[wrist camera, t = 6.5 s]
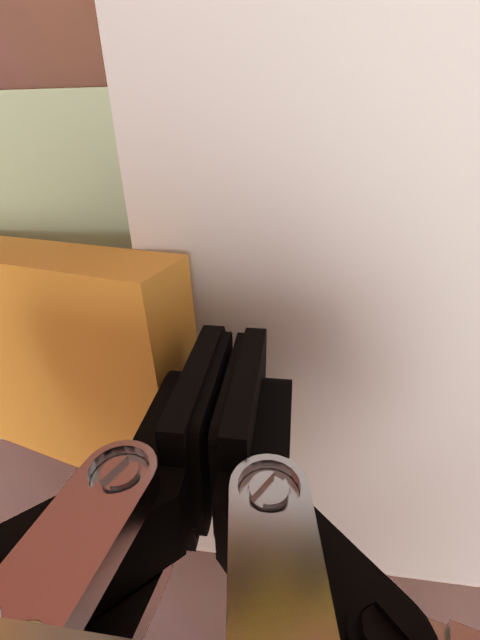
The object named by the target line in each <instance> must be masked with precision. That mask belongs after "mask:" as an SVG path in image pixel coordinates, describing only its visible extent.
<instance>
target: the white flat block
mask: <svg viewBox="0 0 480 640" xmlns="http://www.w3.org/2000/svg"><path fill="white" fill-rule="evenodd" d="M95 6H96V13H97V19H98V26H99V33H100V39H101V46H102V52H103V59H104V66H105V72H106V79H107V85H108V92H109V98H110V105H111V112H112V118H113V125H114V131H115V138H116V144H117V151H118V158H119V164H120V171H121V177H122V184H123V191H124V197H125V204H126V210H127V217H128V223H129V230H130V237H131V243H132V249H137V250H147V251H156V252H166V253H176V254H186V255H188V257H189V267H190V276H191V286H192V295H193V305H194V314H195V324H196V333H197V338H198V335H199V333H200V331H201V329H202V327H203V325H213V326H224V327H225V332H232V337H233V346H234V342H235V339H236V336H237V333H238V332H241V333H244V332H245V329H246V327H247V328H264V329H267V344H266V378H278V379H292V405H291V432H290V460H291V461H293V462H294V463H296V464H297V465H299V467H300V468H301V469H302V470H303V472H304V473H305V474H306V477H307V479H308V482H309V485H310V490H311V495H312V500H313V505H314V506H315V507H316V508H317V509H318V510H319V511H320V512H321V513H322V514H323V515H324V516H325V517H326V518H327V519H328V520H329V521H330V522H331V523H332V524H333V525H334V526H335V527H336V528H337V529H338V530H340V531H341V532H342V533H343V534H344V535H345V536H346V537H347V538H348V539H349V540H350V541H351V542H352V543H353V544H354V545H355V546H356V547H357V548H358V549H359V550H360V551H361V552H362V553H363V554H365V555H366V556H367V557H368V558H369V559H370V560H371V561H372V562H373V563H374V564H375V565H376V566H377V567H378V568H379V569H380V570H381V571H382V572H383V573H384V574H385V575H389V576H397V577H405V578H412V579H420V580H428V581H435V582H443V583H451V584H458V585H466V586H473V587H480V0H95ZM196 550H198V551H206V552H213V553H216V548H215V538H214V533H213V518H212V520H211V524H210V529H209V533H208V536H207V537H206V536H199V540H198V544H197V548H196Z"/></svg>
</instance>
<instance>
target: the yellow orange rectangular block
mask: <svg viewBox="0 0 480 640" xmlns="http://www.w3.org/2000/svg"><path fill="white" fill-rule="evenodd" d="M196 340H197V333H196V324H195V314H194V305H193V295H192V286H191V276H190V267H189V257H188V255H186V254H176V253H166V252H156V251H147V250H137V249H127V248H117V247H108V246H98V245H88V244H78V243H69V242H59V241H49V240H39V239H29V238H20V237H10V236H0V438H2V439H5V440H8V441H10V442H13V443H15V444H18V445H21V446H23V447H26V448H28V449H31V450H34V451H36V452H39V453H41V454H44V455H47V456H49V457H52V458H54V459H57V460H60V461H62V462H65V463H68V464H70V465H73V466H75V467H78V468H79V467H80V466H81V465H82V464H83V463H84V461H85V460H86V459H87V458H88V457H89V456H90V455H91V454H92V453H93V452H94V451H96V450H98V449H99V448H101V447H103V446H104V445H107V444H110V443H113V442H115V441H122V440H133V438H134V436H135V434H136V432H137V430H138V428H139V426H140V424H141V422H142V420H143V418H144V416H145V415H146V413H147V411H148V409H149V407H150V405H151V403H152V401H153V399H154V397H155V395H156V393H157V391H158V389H159V388H160V386H161V384H162V382H163V380H164V378H165V376H166V374H167V373H168V372H169V371H171V370H172V371H182V370H183V368H184V366H185V363H186V361H187V359H188V357H189V355H190V353H191V350H192V348H193V346H194V344H195V342H196Z"/></svg>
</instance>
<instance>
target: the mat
mask: <svg viewBox="0 0 480 640" xmlns="http://www.w3.org/2000/svg"><path fill="white" fill-rule="evenodd" d="M0 236H10V237H20V238H29V239H39V240H49V241H59V242H69V243H78V244H88V245H98V246H108V247H117V248H127V249H132V243H131V237H130V230H129V223H128V217H127V210H126V204H125V197H124V191H123V184H122V177H121V171H120V164H119V158H118V151H117V144H116V138H115V131H114V125H113V118H112V112H111V105H110V98H109V92H108V87H85V88H53V89H21V90H0ZM0 439H2V438H0Z"/></svg>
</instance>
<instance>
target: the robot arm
mask: <svg viewBox="0 0 480 640" xmlns="http://www.w3.org/2000/svg"><path fill="white" fill-rule="evenodd" d="M266 344H267V329H264V328H247V327H246V329H245V332H244V333H241V332H238V333H237V336H236V339H235V342H234V346H233V337H232V332H225V327H224V326H213V325H203V327H202V329H201V331H200V333H199V335H198V338H197V340H196V342H195V344H194V346H193V348H192V350H191V353H190V355H189V357H188V359H187V361H186V363H185V366H184V368H183V370H182V371H172V370H171V371H169V372H168V373H167V374H166V376H165V378H164V380H163V382H162V384H161V386H160V388H159V389H158V391H157V393H156V395H155V397H154V399H153V401H152V403H151V405H150V407H149V409H148V411H147V413H146V415H145V416H144V418H143V420H142V422H141V424H140V426H139V428H138V430H137V432H136V434H135V436H134V438H133V440H122V441H115V442H113V443H110V444H107V445H104V446H103V447H101V448H99V449H98V450H96V451H94V452H93V453H92V454H91V455H90V456H89V457H88V458H87V459H86V460H85V461H84V463H83V464H82V465H81V466H80V467H79V469H78V470H77V471H76V472H75V474H74V475H73V476H72V477H71V478H70V480H69V481H68V482H67V483H66V485H65V486H64V487H63V488H62V489H61V491H60V492H59V493H58V494H57V495H56V496H54V497H52V498H50V499H48V500H46V501H44V502H42V503H40V504H38V505H36V506H34V507H32V508H30V509H29V510H27V511H25V512H23V513H21V514H19V515H17V516H15V517H13V518H11V519H9V520H7V521H5V522H3V523H1V524H0V640H143V639H144V636H145V634H146V632H147V629H148V627H149V625H150V622H151V620H152V618H153V615H154V613H155V611H156V609H157V606H158V604H159V602H160V599H161V597H162V595H163V592H164V590H165V588H166V585H167V583H168V581H169V578H170V575H171V572H172V568H173V563H174V562H176V561H177V560H179V559H180V558H181V557H183V556H184V555H186V551H187V550H189V551H196V548H197V544H198V540H199V536H206V537H207V536H208V533H209V529H210V524H211V520H212V518H213V533H214V538H215V548H216V559H217V561H218V562H219V563H220V565H221V566H222V568H223V569H224V571H225V572H226V574H227V615H226V640H480V631H478V630H476V629H473V628H471V627H468V626H465V625H463V624H460V623H457V622H455V621H452V620H449V622H448V624H447V625H445V624H443V623H440V622H437V621H435V620H432V619H430V618H427V617H426V615H425V614H424V613H423V612H422V611H421V610H420V608H419V607H418V606H417V605H416V604H415V603H414V602H413V601H412V600H411V599H410V598H409V597H408V596H407V595H406V594H405V593H404V592H403V591H402V590H401V589H400V588H399V587H398V586H397V585H396V584H395V583H394V582H393V581H392V580H391V579H389V578H388V577H387V576H386V575H385V574H384V573H383V572H382V571H381V570H380V569H379V568H378V567H377V566H376V565H375V564H374V563H373V562H372V561H371V560H370V559H369V558H368V557H367V556H366V555H365V554H363V553H362V552H361V551H360V550H359V549H358V548H357V547H356V546H355V545H354V544H353V543H352V542H351V541H350V540H349V539H348V538H347V537H346V536H345V535H344V534H343V533H342V532H341V531H340V530H338V529H337V528H336V527H335V526H334V525H333V524H332V523H331V522H330V521H329V520H328V519H327V518H326V517H325V516H324V515H323V514H322V513H321V512H320V511H319V510H318V509H317V508H316V507H315V506H314V505H313V500H312V495H311V490H310V485H309V482H308V479H307V477H306V474H305V473H304V472H303V470H302V469H301V468H300V467H299V465H297V464H296V463H294V462H293V461H291V460H290V432H291V405H292V379H278V378H266Z"/></svg>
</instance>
